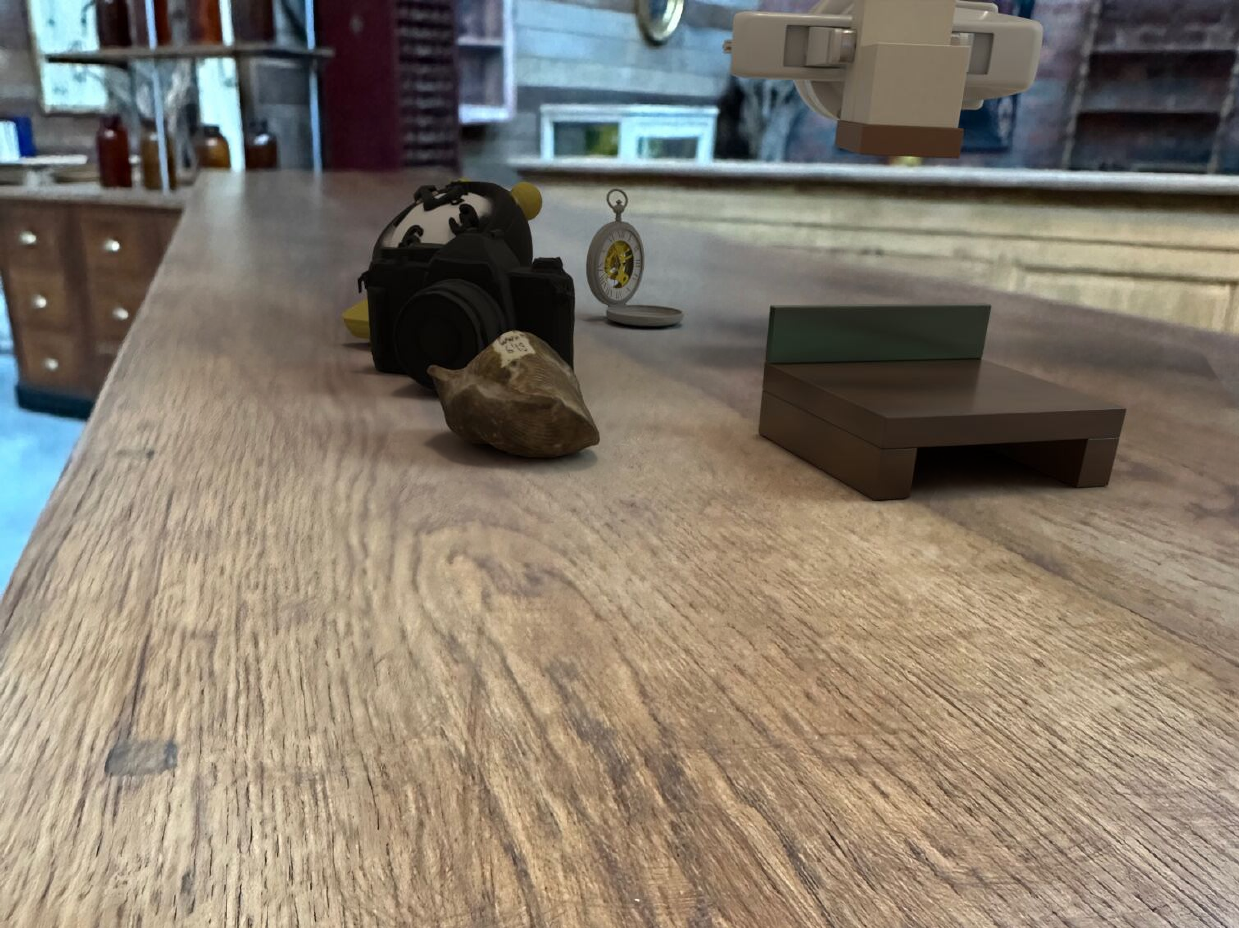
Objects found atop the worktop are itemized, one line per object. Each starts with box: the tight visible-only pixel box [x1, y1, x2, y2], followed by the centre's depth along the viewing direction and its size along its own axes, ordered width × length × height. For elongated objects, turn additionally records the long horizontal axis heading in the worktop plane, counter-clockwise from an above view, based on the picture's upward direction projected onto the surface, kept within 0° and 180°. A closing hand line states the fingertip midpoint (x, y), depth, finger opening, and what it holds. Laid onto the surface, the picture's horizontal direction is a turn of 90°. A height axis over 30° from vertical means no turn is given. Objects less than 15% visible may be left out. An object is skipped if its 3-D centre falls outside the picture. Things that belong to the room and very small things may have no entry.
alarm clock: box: [341, 177, 543, 341], centre depth 93 cm, size 12×15×15 cm
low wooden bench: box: [757, 302, 1128, 501], centre depth 66 cm, size 14×14×7 cm
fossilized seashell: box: [427, 330, 601, 458], centre depth 65 cm, size 8×7×10 cm
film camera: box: [357, 227, 576, 392], centre depth 78 cm, size 15×10×9 cm, turn 73°
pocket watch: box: [585, 187, 685, 328], centre depth 102 cm, size 8×8×10 cm
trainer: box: [834, 0, 970, 160], centre depth 73 cm, size 12×6×10 cm, turn 179°
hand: (900, 48), depth 75 cm, fingers closed on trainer, 5 cm apart
